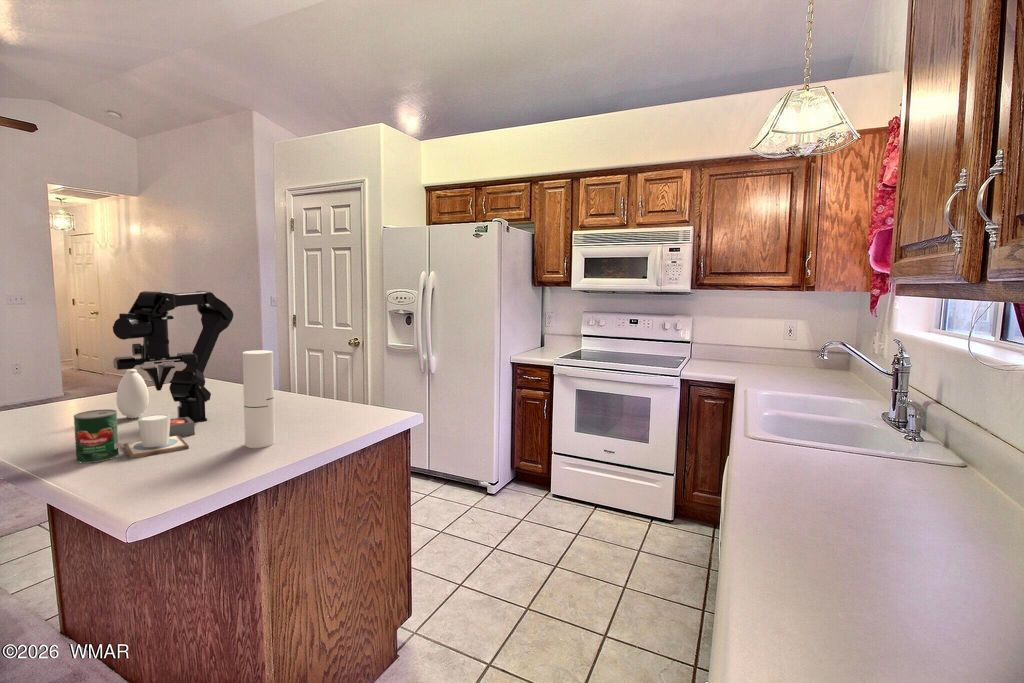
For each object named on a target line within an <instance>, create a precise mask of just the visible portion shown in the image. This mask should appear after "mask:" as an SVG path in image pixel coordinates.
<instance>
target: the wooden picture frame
mask: <svg viewBox="0 0 1024 683" xmlns="http://www.w3.org/2000/svg"><path fill="white" fill-rule="evenodd" d="M122 445H123V446H124V447H123V448H124V450H125V452H126V451H127V452H126V454H127V453H128V454H127V456H128V455H129V456H128V457H129V459H130V458H132V459H136V458H135V457H137V458H143V457H148V455H149V456H153V455H154V456H155V455H159V453H161V454H166V453H170V452H171V453H172V452H177V451H178V452H179V451H182V450H183V449H184V450H188V449H190V448H189V447H190V446H189V444H188V443H187V442H186V441H185V440H184V439H183V438H182V437H180V436H179V435H176V436H170V437H169V443H168V444H166V445H162V446H158V447H143V446H142V442H141V440H138V441H132V442H124V443H123V444H122ZM142 456H143V457H142Z"/></svg>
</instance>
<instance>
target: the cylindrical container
mask: <svg viewBox="0 0 1024 683" xmlns="http://www.w3.org/2000/svg"><path fill="white" fill-rule="evenodd" d="M242 378H243V379H242V380H243V381H242V382H243V384H242V385H243V416H244V418H243V419H244V424H243V425H244V446H245V447H247V448H250V449H258V448H259V449H260V448H265V447H270V446H272V445H274V444H275V441H276V438H275V435H276V434H275V390H274V389H275V387H274V351H273V350H267V349H265V350H264V349H263V350H259V349H258V350H245V351H243V352H242Z"/></svg>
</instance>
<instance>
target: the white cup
mask: <svg viewBox="0 0 1024 683" xmlns="http://www.w3.org/2000/svg"><path fill="white" fill-rule="evenodd" d="M170 419H172V418H171V415H170V414H150V415H145V416H142V417H141V416H140V417H138V418H137V422H138V423H137V424H138V429H139V434H140V441H141V442H142V446H143V447H158V446H162V445H166V444H168V443H169V432H170Z"/></svg>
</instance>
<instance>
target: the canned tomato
mask: <svg viewBox="0 0 1024 683" xmlns="http://www.w3.org/2000/svg"><path fill="white" fill-rule="evenodd" d="M117 413H118V410H116V409H106V408H105V409H94V410H92V409H91V410H88V411H82V412H78V413H75V414H74V415H73V421H74V422H73V423H74V426H73V427H74V438H75V439H74V440H75V441H74V442H75V443H74V444H75V456H76V459H75V462H76V461H77V462H76V463H78V462H81V463H80V464H92V463H91V462H97V463H100V462H99V461H102V462H106V461H105V460H107V461H109V460H108V459H110V460H112V459H111V458H113V459H115V458H117V457H119V455H120V453H119V434H118V433H119V432H118V414H117ZM116 456H117V457H116Z"/></svg>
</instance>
